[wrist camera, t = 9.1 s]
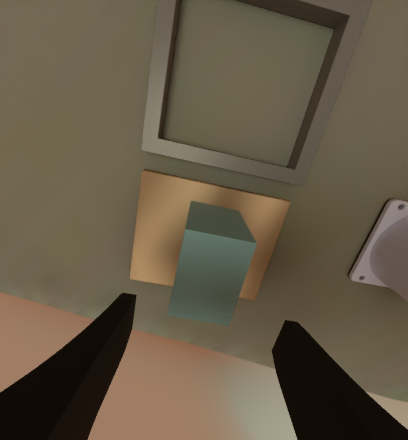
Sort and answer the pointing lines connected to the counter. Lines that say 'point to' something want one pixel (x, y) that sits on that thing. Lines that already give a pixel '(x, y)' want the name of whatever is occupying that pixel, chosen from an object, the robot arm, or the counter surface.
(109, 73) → the counter surface
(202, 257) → the block
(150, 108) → the grey flat square frame
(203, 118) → the counter surface
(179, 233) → the board
